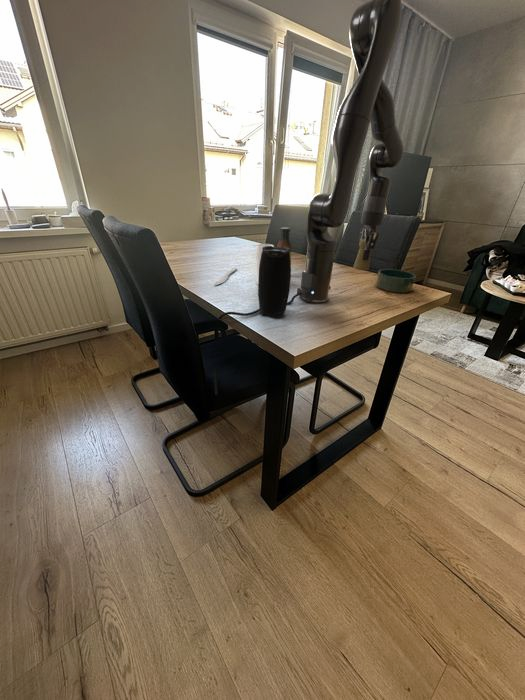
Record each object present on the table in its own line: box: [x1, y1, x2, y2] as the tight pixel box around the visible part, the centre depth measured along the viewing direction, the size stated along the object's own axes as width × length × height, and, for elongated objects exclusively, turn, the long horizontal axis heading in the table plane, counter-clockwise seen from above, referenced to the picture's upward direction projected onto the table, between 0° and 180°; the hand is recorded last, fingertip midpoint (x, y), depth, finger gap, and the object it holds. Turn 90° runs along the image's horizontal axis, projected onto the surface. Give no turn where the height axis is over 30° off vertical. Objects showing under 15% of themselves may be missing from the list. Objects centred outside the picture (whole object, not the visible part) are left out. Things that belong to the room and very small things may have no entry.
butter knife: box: [214, 267, 237, 286], centre depth 121 cm, size 1×27×3 cm
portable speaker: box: [257, 246, 292, 319], centre depth 83 cm, size 9×9×20 cm
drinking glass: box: [255, 243, 275, 284], centre depth 111 cm, size 7×7×15 cm
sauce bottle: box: [276, 227, 293, 263], centre depth 121 cm, size 7×6×20 cm
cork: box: [352, 238, 372, 271], centre depth 110 cm, size 6×6×11 cm
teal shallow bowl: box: [375, 268, 417, 294], centre depth 115 cm, size 14×14×6 cm
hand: (363, 258), depth 110 cm, fingers closed on cork, 4 cm apart
